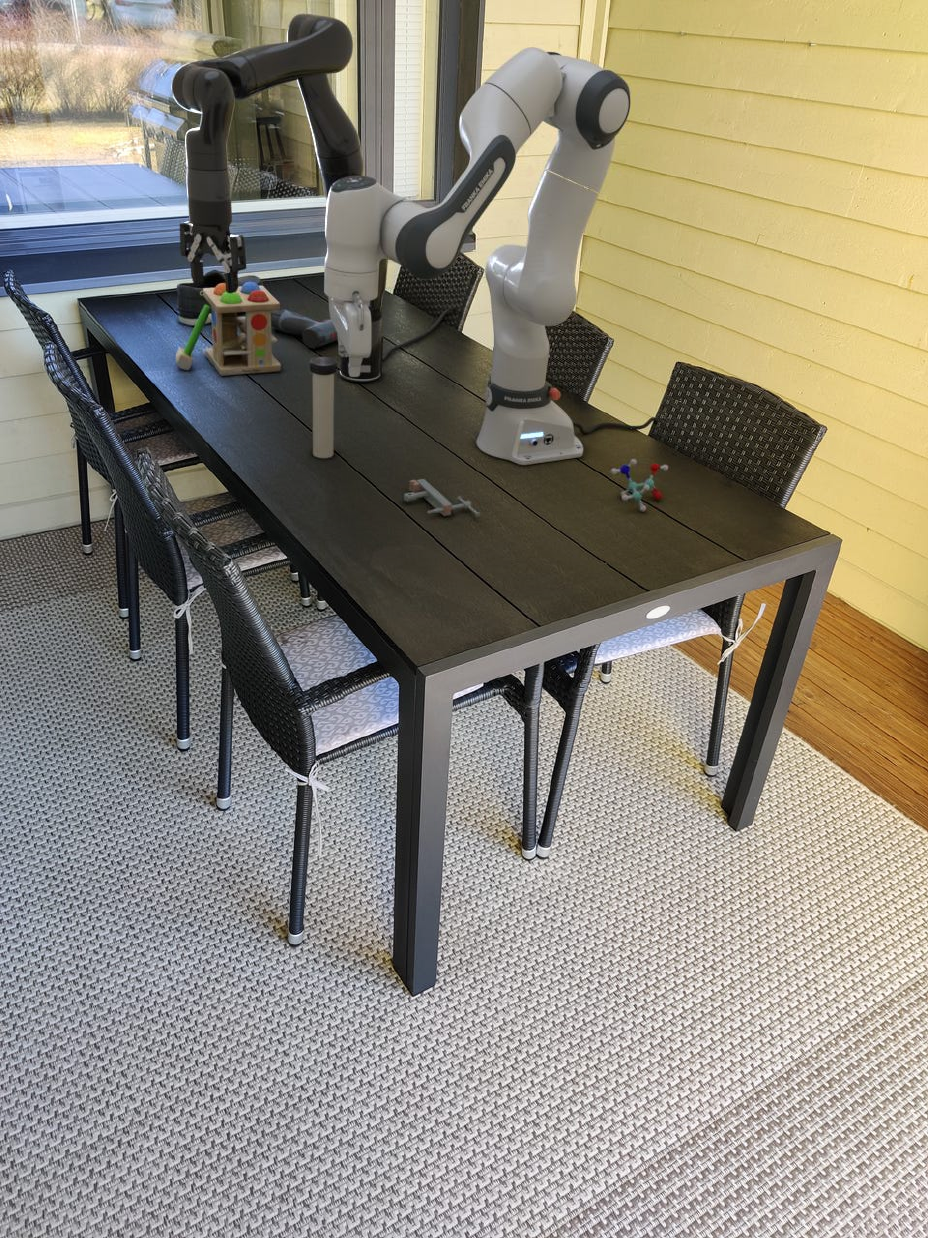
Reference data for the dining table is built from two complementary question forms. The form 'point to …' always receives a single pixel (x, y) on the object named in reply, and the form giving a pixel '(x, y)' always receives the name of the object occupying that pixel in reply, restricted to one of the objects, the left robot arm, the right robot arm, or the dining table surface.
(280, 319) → the power drill
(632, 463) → the molecular model
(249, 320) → the pounding bench toy
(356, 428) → the dining table surface
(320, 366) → the lid
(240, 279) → the boat shoe
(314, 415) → the white cylindrical bottle
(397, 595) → the dining table surface
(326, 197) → the left robot arm
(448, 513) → the clamp
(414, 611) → the dining table surface
